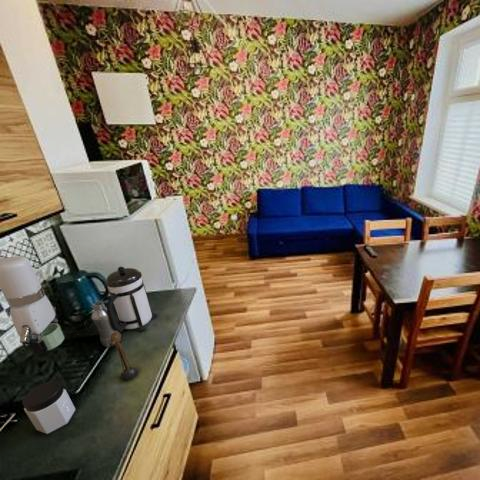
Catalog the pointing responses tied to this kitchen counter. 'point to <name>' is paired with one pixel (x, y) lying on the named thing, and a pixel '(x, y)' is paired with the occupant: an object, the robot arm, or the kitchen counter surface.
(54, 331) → the green cup
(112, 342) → the wooden tabletop sculpture
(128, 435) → the kitchen counter surface
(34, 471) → the kitchen counter surface
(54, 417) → the jar
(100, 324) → the plastic bottle
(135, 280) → the coffee press
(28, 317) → the robot arm
